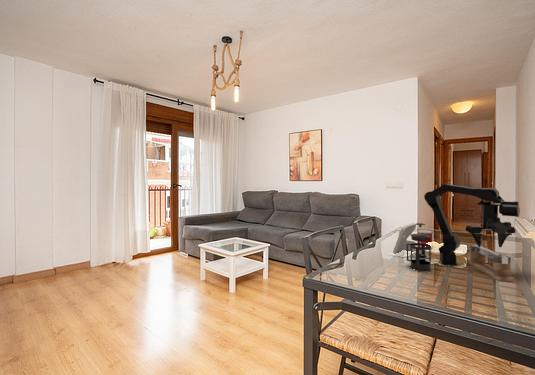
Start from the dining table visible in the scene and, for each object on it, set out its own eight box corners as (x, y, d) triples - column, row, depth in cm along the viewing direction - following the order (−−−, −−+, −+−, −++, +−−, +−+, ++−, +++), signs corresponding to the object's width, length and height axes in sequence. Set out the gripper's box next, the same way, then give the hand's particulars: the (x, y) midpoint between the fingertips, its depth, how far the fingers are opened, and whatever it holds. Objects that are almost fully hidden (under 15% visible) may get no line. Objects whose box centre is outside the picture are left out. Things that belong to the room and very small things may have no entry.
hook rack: (498, 281, 121) (498, 258, 121) (467, 263, 145) (467, 244, 144) (514, 281, 120) (514, 259, 120) (481, 264, 144) (481, 245, 143)
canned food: (434, 249, 172) (434, 232, 172) (421, 250, 172) (421, 232, 172) (427, 246, 180) (427, 229, 179) (415, 247, 180) (415, 230, 180)
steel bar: (501, 263, 122) (501, 257, 121) (473, 250, 143) (473, 244, 143) (508, 263, 121) (508, 257, 121) (478, 250, 143) (478, 244, 143)
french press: (435, 268, 140) (435, 223, 139) (429, 273, 133) (429, 226, 132) (410, 263, 148) (410, 220, 147) (403, 268, 141) (403, 223, 140)
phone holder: (400, 249, 176) (400, 221, 176) (417, 252, 169) (417, 222, 168) (387, 254, 165) (386, 224, 165) (404, 258, 158) (404, 226, 157)
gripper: (479, 217, 125) (479, 251, 126) (525, 217, 123) (524, 252, 123) (465, 213, 136) (464, 245, 137) (506, 213, 134) (506, 245, 134)
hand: (489, 247), depth 132 cm, fingers open, 9 cm apart
